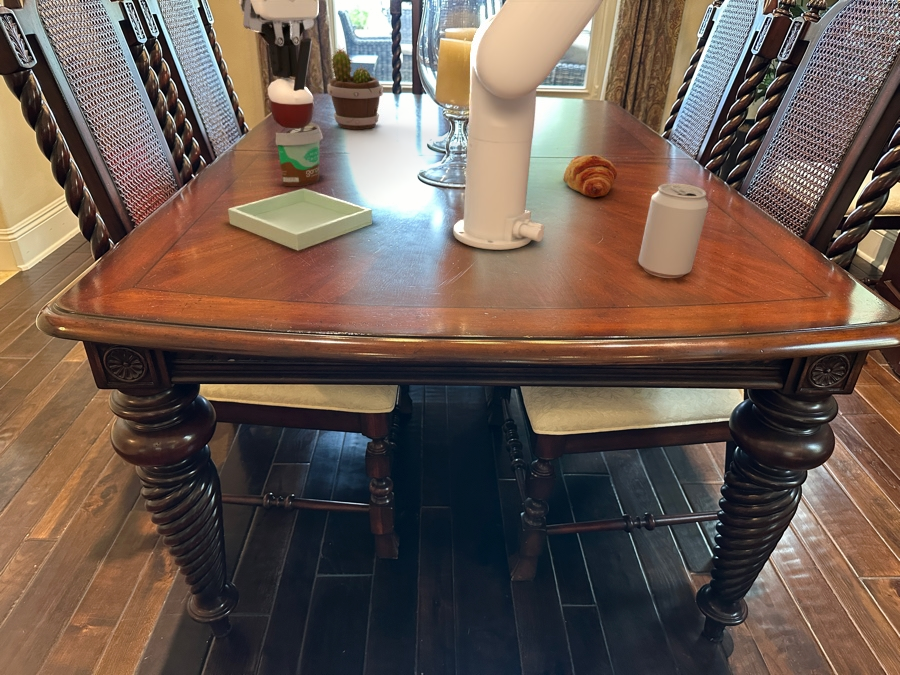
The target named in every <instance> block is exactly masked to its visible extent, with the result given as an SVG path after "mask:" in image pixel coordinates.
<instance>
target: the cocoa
mask: <svg viewBox="0 0 900 675" xmlns="http://www.w3.org/2000/svg"><path fill="white" fill-rule="evenodd" d="M312 43H313V40H312V38H301V39H300V41H299V47H298V48H299V49H298V55H297V69H296V76H295V77H294V79H293V78H290V77H289V78H283V77H280V78H276V79H275V80H274V81H271V82H270V84H269V85H268V87H267V95H268V98H269V99H268V101H269V108H270V109H269V110H270V112H271V115H272V118H273V120H274V121H275V122H276V124H278V125H279V126H281V127H282V128H286V129H296V128H303V127H306V126H307V125H308V124H309V123H310V122H312V119H313V116H314V110H315V100H314V96H313V94H312V92H311V91H310V90H309V89H308V87H307V86H306V82H307V74H308V68H309V63H310V62H309V61H310V55H311V48H312Z"/></svg>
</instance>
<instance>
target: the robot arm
mask: <svg viewBox="0 0 900 675" xmlns="http://www.w3.org/2000/svg"><path fill="white" fill-rule="evenodd" d="M603 2H604V0H505V2H504V3H503V4H502V6H501V8H500V9H499V10H498V12H497V13H496V14H493V15H492V16H490V17H488V18H487V19H486V20H485V21H483V22H482V23H481V24H480V26H479V28H477V30H476V33H475V35H474V37H473V40H472V44H471V48H470V49H471V50H470V65H469V66H470V70H469V72H470V73H469V77H470V78H469V105H468V106H469V108H468V109H469V110H468V127H467V128H468V130H467V144H466V163H465V165H466V166H465V186H464V187H465V188H464V205H463V206H464V207H463V219H460V220H458V221H457V222H456V223H455V224H454V225H453V229H452V230H453V231H452V232H453V234H452V235H453V236H454V238H455V239H456V240H458V242H460V243H462V244H464V245H467V246H470V247H473V248H477V249H482V250H493V251H494V250H495V251H503V250H513V249H519V248H521V247H524V246H526V245H528V244H529V243H530V242H531V241H535V242H537V243H538V242H541V241H542V240H543V238H544V235H545V234H544V233H545V232H544V231H545V225H544V224H542V223H538V222H534V221H532V220H531V215H532V211H531V210H527V209H526V203H527V195H528V184H529V176H530V165H531V156H532V155H531V154H532V145H533V137H534V128H535V120H536V118H535V117H536V105H537V89H538V88H539V86H540V85H542V83H543V82H544V81H545V80H546V79H547V77H549V75H550V74H551V72H552V71H553V70H554V69H555V67H556V66H557V65H558V64H559V62H560V61H561V60H562V58H563V57H564V56H565V55H566V53H567V51H568V50H569V49H570V48H571V47H572V45H573V44H574V42H576V40H577V38H578V37H579V36H580V35H581V33H583V31H584V29H585V28H586V27H587V25H588V24H589V23H590V21H592V19H593V17H594V16H595V15H596V13H597V12H598V9H600V7H601V5H602V3H603ZM238 4H239V8H240V12H241V13H242V15H243V23H242V25H243V28H244V29H247V30H249V31H252V32H256V33H258V34H259V35H260V36H261V38H262V39H263V42H264V44H265V45H268V51H269V60H270V68H271V74H272V76H274V77H277V78H278V77H279V78H290V77H291V78H295V76H296V69H297V62H298V55H297V46H299V45H300V41H301V39H300V37H301V36H302V34H303V33H304V31H306V30H309V29H311V28H313V27H314V26H315V21H314V19H315V18H317V17H318V15H319V8H320V7H319V6H320V5H319V0H238Z"/></svg>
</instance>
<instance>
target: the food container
mask: <svg viewBox="0 0 900 675" xmlns="http://www.w3.org/2000/svg"><path fill="white" fill-rule="evenodd" d="M322 140H323V134H322V130H321V128H320V125H319V124H317V123H314V122H312V121H310V123H309V124H308V125H307V126H306V127H303V128H289V130H287V131H286V132H275V145H276V146H277V150H278V158H279V164H280V171H281V177H282V184H283V186H284V187H285V186H286V187H301V186H308V185H312V184H315V183H317V182H319V180H320V141H322Z"/></svg>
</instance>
